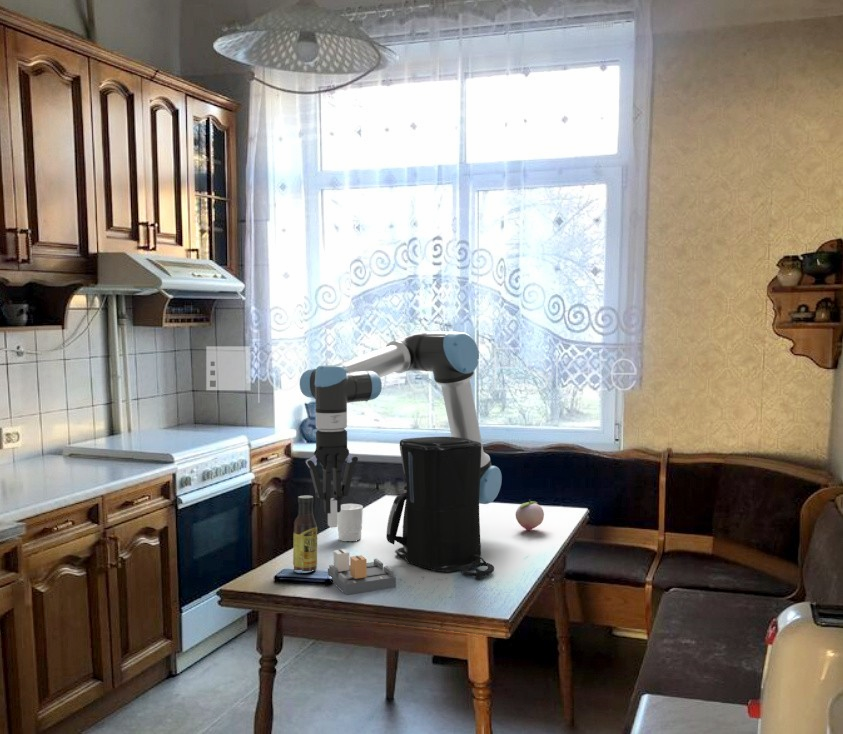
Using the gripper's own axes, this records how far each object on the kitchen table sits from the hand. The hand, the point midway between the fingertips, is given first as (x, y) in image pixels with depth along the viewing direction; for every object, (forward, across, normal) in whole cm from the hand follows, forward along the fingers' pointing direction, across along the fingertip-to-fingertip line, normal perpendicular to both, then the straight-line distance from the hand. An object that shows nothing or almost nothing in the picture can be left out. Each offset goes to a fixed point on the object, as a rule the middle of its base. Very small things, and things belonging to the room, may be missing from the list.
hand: (332, 525), depth 193 cm
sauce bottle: (+17, -1, +18) cm, 25 cm away
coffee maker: (+17, +33, +10) cm, 38 cm away
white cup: (+16, +20, +43) cm, 50 cm away
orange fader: (+13, +7, 0) cm, 15 cm away
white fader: (+13, +5, +7) cm, 16 cm away
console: (+16, +9, +4) cm, 19 cm away
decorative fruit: (+16, +74, +26) cm, 80 cm away
